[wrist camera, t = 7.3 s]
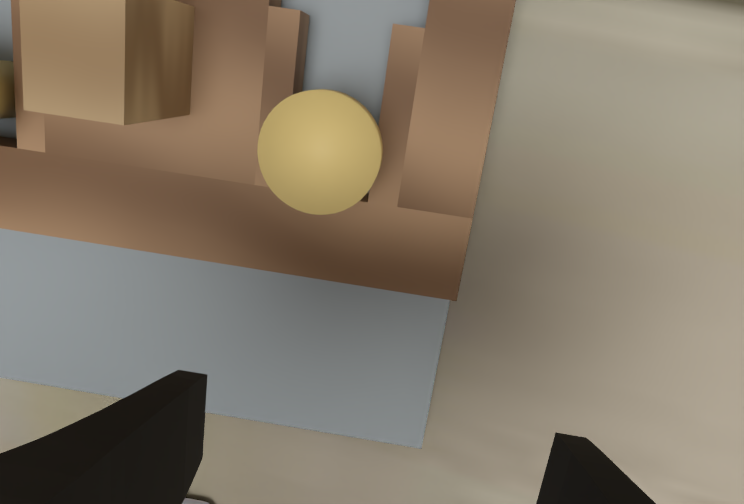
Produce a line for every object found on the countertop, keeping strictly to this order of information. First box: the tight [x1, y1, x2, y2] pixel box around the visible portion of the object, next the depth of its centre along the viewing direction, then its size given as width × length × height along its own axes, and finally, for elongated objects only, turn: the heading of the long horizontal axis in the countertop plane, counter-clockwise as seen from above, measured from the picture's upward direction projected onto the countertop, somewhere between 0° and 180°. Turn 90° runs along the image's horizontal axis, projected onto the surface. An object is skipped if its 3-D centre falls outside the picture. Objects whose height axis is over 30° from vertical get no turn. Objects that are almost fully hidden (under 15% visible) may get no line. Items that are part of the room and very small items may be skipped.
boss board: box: [0, 0, 450, 449], centre depth 18 cm, size 22×20×5 cm
